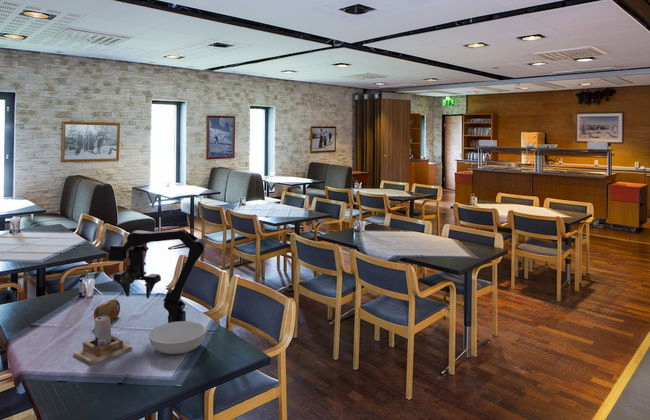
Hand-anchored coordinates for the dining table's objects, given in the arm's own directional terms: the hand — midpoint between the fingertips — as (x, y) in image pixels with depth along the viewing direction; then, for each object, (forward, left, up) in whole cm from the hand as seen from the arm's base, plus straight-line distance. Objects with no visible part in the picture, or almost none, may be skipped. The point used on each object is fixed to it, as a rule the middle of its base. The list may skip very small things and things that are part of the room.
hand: (137, 297), depth 204 cm
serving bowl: (-26, +15, -13) cm, 33 cm away
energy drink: (-1, +25, -12) cm, 28 cm away
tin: (+17, -3, -13) cm, 22 cm away
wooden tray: (-1, +25, -13) cm, 28 cm away
